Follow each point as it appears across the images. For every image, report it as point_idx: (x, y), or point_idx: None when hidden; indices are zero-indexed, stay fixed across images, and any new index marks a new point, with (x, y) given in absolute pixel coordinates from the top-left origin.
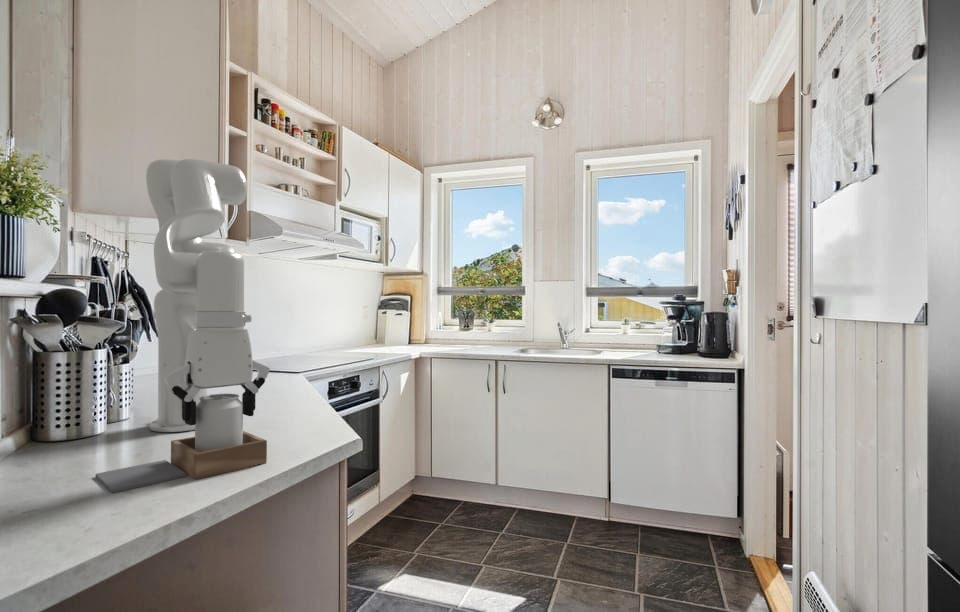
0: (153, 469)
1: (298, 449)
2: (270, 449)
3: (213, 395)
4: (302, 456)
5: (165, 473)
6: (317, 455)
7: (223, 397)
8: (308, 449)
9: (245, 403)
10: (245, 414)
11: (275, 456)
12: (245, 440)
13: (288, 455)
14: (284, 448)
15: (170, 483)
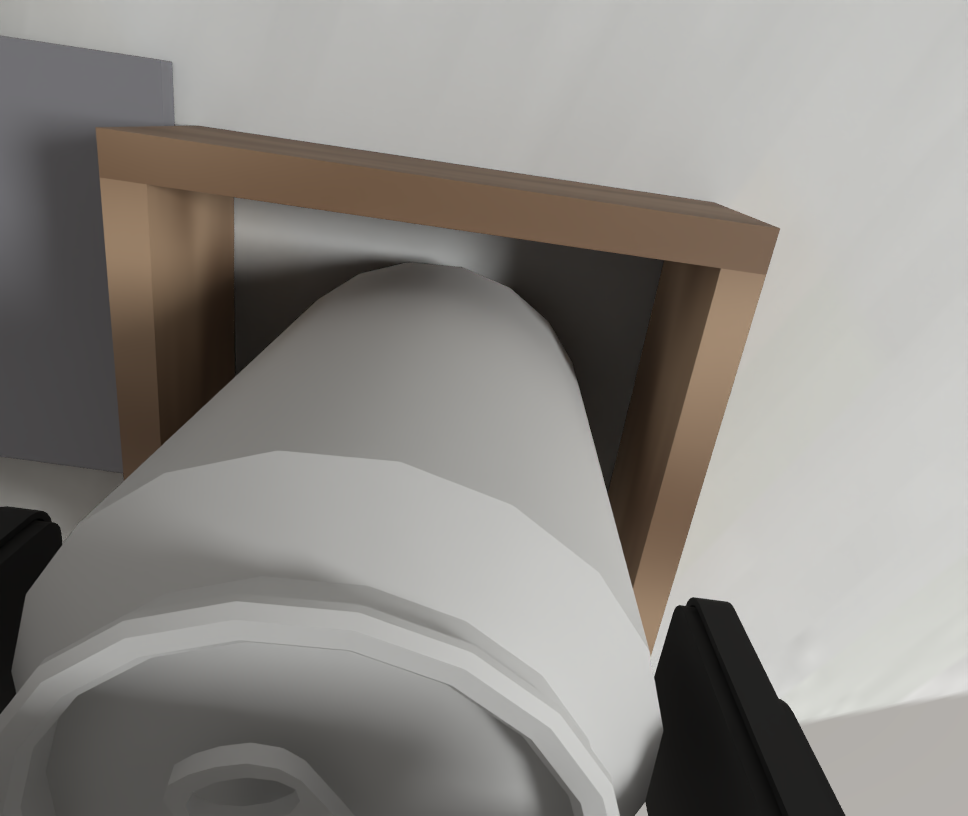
0: (38, 244)
1: (927, 544)
2: (842, 396)
3: (246, 771)
4: (810, 664)
5: (84, 390)
6: (866, 709)
7: (436, 756)
8: (954, 591)
9: (693, 788)
10: (655, 675)
11: (731, 550)
12: (654, 447)
13: (787, 593)
14: (908, 453)
15: (90, 509)
